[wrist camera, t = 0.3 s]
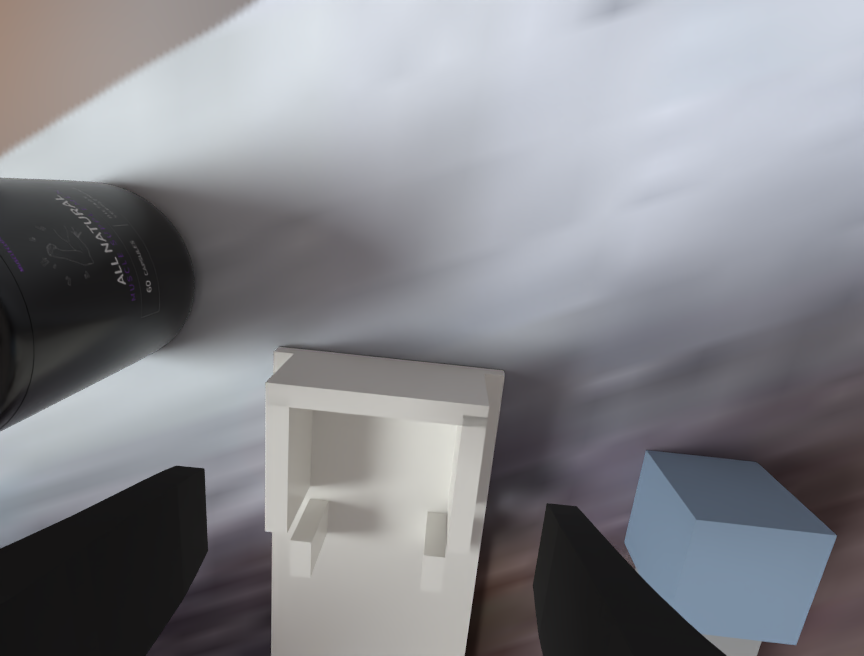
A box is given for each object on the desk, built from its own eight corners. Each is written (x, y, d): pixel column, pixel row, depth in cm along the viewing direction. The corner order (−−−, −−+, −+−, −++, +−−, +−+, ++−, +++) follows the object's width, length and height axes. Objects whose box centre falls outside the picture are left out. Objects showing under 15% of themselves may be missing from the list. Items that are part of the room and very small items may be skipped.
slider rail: (449, 748, 25) (448, 837, 22) (274, 727, 26) (246, 812, 22) (503, 370, 20) (513, 408, 16) (278, 346, 20) (241, 380, 16)
